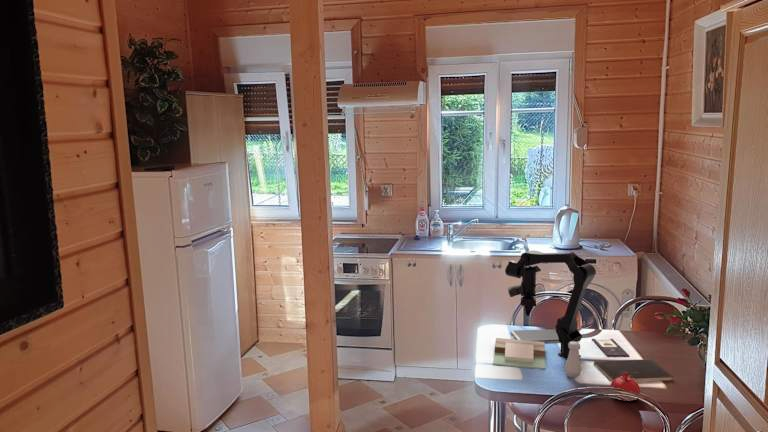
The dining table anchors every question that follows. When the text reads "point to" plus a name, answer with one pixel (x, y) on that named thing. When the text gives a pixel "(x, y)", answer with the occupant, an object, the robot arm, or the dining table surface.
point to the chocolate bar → (610, 348)
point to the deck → (537, 345)
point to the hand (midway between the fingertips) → (527, 315)
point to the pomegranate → (626, 383)
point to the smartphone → (536, 335)
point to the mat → (519, 362)
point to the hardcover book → (633, 369)
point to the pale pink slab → (519, 352)
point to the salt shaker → (573, 360)
